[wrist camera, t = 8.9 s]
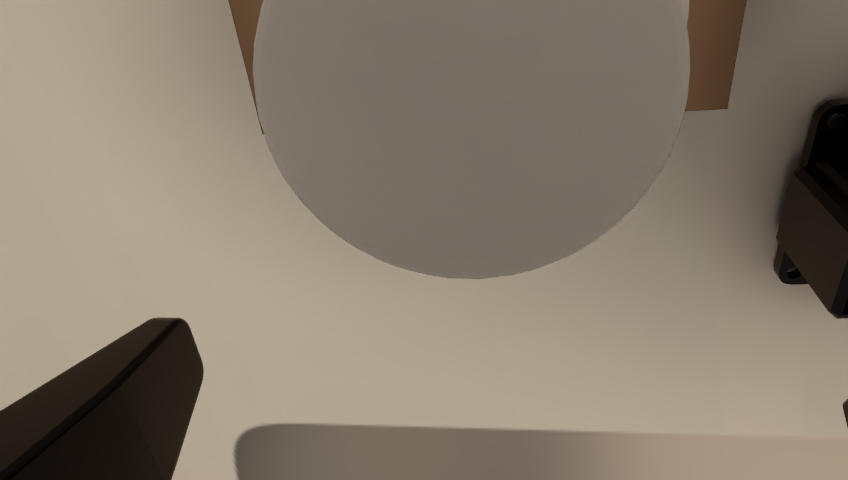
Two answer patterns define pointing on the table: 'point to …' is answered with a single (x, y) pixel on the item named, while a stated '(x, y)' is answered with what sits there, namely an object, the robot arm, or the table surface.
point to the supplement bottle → (471, 121)
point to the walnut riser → (707, 31)
